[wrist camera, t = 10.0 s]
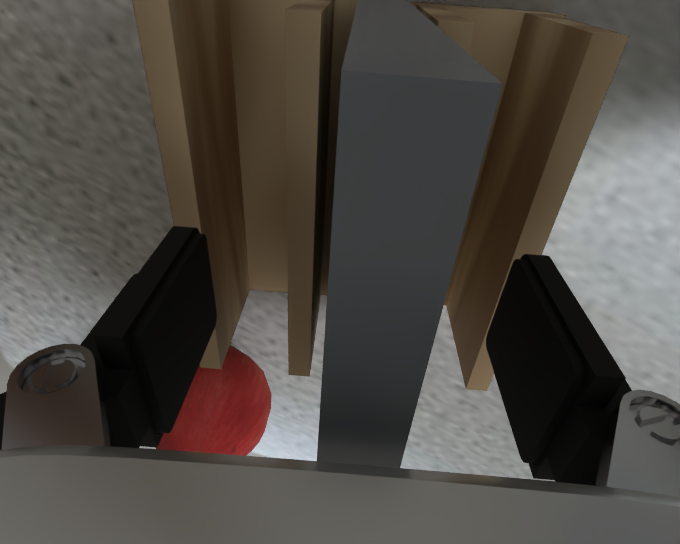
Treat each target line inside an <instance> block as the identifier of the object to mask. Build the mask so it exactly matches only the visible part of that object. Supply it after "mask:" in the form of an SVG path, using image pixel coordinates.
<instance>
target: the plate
mask: <svg viewBox="0 0 680 544" xmlns="http://www.w3.org/2000/svg"><path fill="white" fill-rule="evenodd" d="M502 85H503V83H502V82H500V81H499V80H498V79H497V78H496V77H495V76H494V75H492V74H491V73H490V72H489V71H488V70H487V69H486V68H484V67H483V66H482V65H481V64H480V63H479V62H478V61H476V60H475V59H474V58H473V57H472V56H471V55H470V54H468V53H467V52H466V51H465V50H464V49H463V48H461V47H460V46H459V45H458V44H457V43H456V42H455V41H453V40H452V39H451V38H450V37H449V36H448V35H447V34H445V33H444V32H443V31H442V30H441V29H440V28H439V27H437V26H436V25H435V24H434V23H433V22H432V21H430V20H429V19H428V18H427V17H426V16H425V15H424V14H422V13H421V12H420V11H419V10H418V9H417V8H416V7H414V6H413V5H412V4H411V3H410V2H409V1H408V0H358V2H357V7H356V11H355V15H354V19H353V24H352V28H351V32H350V36H349V40H348V45H347V49H346V53H345V57H344V62H343V66H342V70H341V85H340V101H339V117H338V133H337V149H336V165H335V181H334V197H333V213H332V229H331V245H330V261H329V277H328V293H327V309H326V325H325V341H324V356H323V372H322V388H321V404H320V420H319V436H318V452H317V461H318V462H330V463H342V464H355V465H367V466H379V467H391V468H400V465H401V461H402V458H403V454H404V450H405V447H406V443H407V439H408V435H409V432H410V428H411V424H412V420H413V417H414V413H415V409H416V406H417V402H418V398H419V394H420V391H421V387H422V383H423V379H424V376H425V372H426V368H427V365H428V361H429V357H430V353H431V350H432V346H433V342H434V338H435V335H436V331H437V327H438V324H439V320H440V316H441V312H442V309H443V305H444V301H445V297H446V294H447V290H448V286H449V283H450V279H451V275H452V271H453V268H454V264H455V260H456V256H457V253H458V249H459V245H460V242H461V238H462V234H463V230H464V227H465V223H466V219H467V215H468V212H469V208H470V204H471V201H472V197H473V193H474V189H475V186H476V182H477V178H478V174H479V171H480V167H481V163H482V160H483V156H484V152H485V148H486V145H487V141H488V137H489V133H490V130H491V126H492V122H493V119H494V115H495V111H496V107H497V104H498V100H499V96H500V92H501V89H502Z"/></svg>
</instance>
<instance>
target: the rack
mask: <svg viewBox="0 0 680 544" xmlns="http://www.w3.org/2000/svg"><path fill="white" fill-rule="evenodd" d="M132 1H133V6H134V12H135V17H136V22H137V28H138V33H139V39H140V44H141V49H142V55H143V60H144V66H145V71H146V76H147V82H148V87H149V93H150V98H151V104H152V109H153V114H154V120H155V125H156V131H157V136H158V141H159V147H160V152H161V158H162V163H163V169H164V174H165V179H166V185H167V190H168V196H169V201H170V206H171V212H172V217H173V223H174V226H182V227H194V228H197V229H198V230H199V232H200V234H205V235H206V238H207V244H208V251H209V259H210V266H211V273H212V281H213V288H214V295H215V302H216V310H217V321H216V326H215V328H214V331H213V333H212V336H211V338H210V340H209V343H208V345H207V348H206V350H205V352H204V355H203V357H202V360H201V362H200V368H212V369H221V368H222V365H223V362H224V360H225V357H226V354H227V351H228V349H229V346H230V343H231V340H232V337H233V335H234V332H235V329H236V326H237V323H238V321H239V318H240V315H241V312H242V310H243V307H244V304H245V301H246V298H247V296H248V293H249V290H250V289H252V290H265V291H277V292H288V354H289V375H298V376H310V369H311V362H312V355H313V348H314V341H315V333H316V326H317V319H318V312H319V304H320V297H321V295H327V293H328V277H329V261H330V245H331V229H332V213H333V197H334V181H335V165H336V149H337V133H338V117H339V101H340V85H341V70H342V66H343V62H344V57H345V53H346V49H347V45H348V40H349V36H350V32H351V28H352V24H353V19H354V15H355V11H356V7H357V2H358V0H132ZM410 3H411V4H412V5H413V6H414V7H416V8H417V9H418V10H419V11H420V12H421V13H422V14H424V15H425V16H426V17H427V18H428V19H429V20H430V21H432V22H433V23H434V24H435V25H436V26H437V27H439V28H440V29H441V30H442V31H443V32H444V33H445V34H447V35H448V36H449V37H450V38H451V39H452V40H453V41H455V42H456V43H457V44H458V45H459V46H460V47H461V48H463V49H464V50H465V51H466V52H467V53H468V54H470V55H471V56H472V57H473V58H474V59H475V60H476V61H478V62H479V63H480V64H481V65H482V66H483V67H484V68H486V69H487V70H488V71H489V72H490V73H491V74H492V75H494V76H495V77H496V78H497V79H498V80H499V81H500V82H502V83H503V85H502V89H501V92H500V96H499V100H498V104H497V107H496V111H495V115H494V119H493V122H492V126H491V130H490V133H489V137H488V141H487V145H486V148H485V152H484V156H483V160H482V163H481V167H480V171H479V174H478V178H477V182H476V186H475V189H474V193H473V197H472V201H471V204H470V208H469V212H468V215H467V219H466V223H465V227H464V230H463V234H462V238H461V242H460V245H459V249H458V253H457V256H456V260H455V264H454V268H453V271H452V275H451V279H450V283H449V286H448V290H447V294H446V297H445V301H444V305H446V306H447V310H448V314H449V319H450V323H451V327H452V331H453V336H454V340H455V344H456V348H457V353H458V357H459V361H460V365H461V370H462V374H463V378H464V383H465V387H466V389H471V390H483V391H487V389H488V387H489V384H490V382H491V379H492V377H493V374H494V371H493V368H492V364H491V361H490V358H489V355H488V352H487V348H486V337H487V333H488V330H489V328H490V325H491V322H492V319H493V316H494V314H495V311H496V308H497V305H498V302H499V300H500V297H501V294H502V291H503V289H504V286H505V283H506V280H507V277H508V275H509V272H510V269H511V266H512V264H513V261H514V260H515V259H520V258H521V257H522V256H523V255H524V254H532V255H542V252H543V250H544V247H545V245H546V242H547V240H548V237H549V235H550V232H551V230H552V227H553V225H554V222H555V220H556V217H557V215H558V212H559V210H560V207H561V205H562V202H563V200H564V197H565V195H566V192H567V190H568V187H569V185H570V182H571V180H572V177H573V175H574V172H575V170H576V167H577V165H578V162H579V160H580V157H581V155H582V152H583V150H584V147H585V145H586V142H587V140H588V137H589V135H590V133H591V130H592V128H593V125H594V123H595V120H596V118H597V115H598V113H599V110H600V108H601V105H602V103H603V100H604V98H605V95H606V93H607V90H608V88H609V85H610V83H611V80H612V78H613V75H614V73H615V70H616V68H617V65H618V63H619V60H620V58H621V55H622V53H623V50H624V48H625V45H626V43H627V40H628V38H629V36H627V35H624V34H620V33H616V32H613V31H609V30H605V29H602V28H598V27H594V26H591V25H587V24H583V23H579V22H576V21H572V20H568V19H565V18H566V16H565V15H561V14H557V13H549V12H536V11H524V10H511V9H498V8H485V7H472V6H459V5H446V4H433V3H420V2H410Z"/></svg>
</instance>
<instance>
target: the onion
mask: <svg viewBox="0 0 680 544" xmlns="http://www.w3.org/2000/svg"><path fill="white" fill-rule="evenodd" d="M270 409H271V392H270V389H269V386H268V383H267V380H266V377H265V375H264V372H263V371H262V369H261V368H260V367H259V366H258V365H257V364H256V363H255V362H254V361H253V360H252V359H251V358H250V357H249V356H247V355H245V354H244V353H242V352H241V351H239V350H238V349H236V348H234V347H230V346H229V349H228V351H227V354H226V357H225V360H224V362H223V365H222V368H221V369H212V368H200V364H199V367H198V369H197V372H196V374H195V376H194V379H193V381H192V383H191V386H190V388H189V391H188V393H187V395H186V398H185V400H184V403H183V405H182V407H181V410H180V412H179V415H178V417H177V419H176V422H175V424H174V427H173V429H172V431H171V432H170V433H163V436H162V438H161V440H160V443H159V445H158V447H156V449H160V450H176V451H189V452H202V453H215V454H228V455H241V456H246V455H247V454H248V453H250V452H251V451H252V450H253V449H254V447H255V446H256V445H257V444H258V443H259V441H260V439H261V437H262V435H263V433H264V431H265V428H266V424H267V420H268V417H269V413H270Z"/></svg>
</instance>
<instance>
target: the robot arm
mask: <svg viewBox="0 0 680 544" xmlns="http://www.w3.org/2000/svg"><path fill="white" fill-rule="evenodd" d="M216 321H217V310H216V302H215V295H214V288H213V281H212V273H211V266H210V259H209V251H208V244H207V238H206V235H205V234H200V232H199V230H198V229H197V228H194V227H182V226H173V227H172V228H171V230H170V231H169V232H168V234H167V235H166V236H165V238H164V239H163V241H162V242H161V243H160V245H159V246H158V247H157V249H156V250H155V251H154V253H153V254H152V255H151V257H150V258H149V259H148V261H147V262H146V264H145V265H144V266H143V268H142V269H141V270H140V272H139V273H138V274H134V275H133V276H132V277H131V278H130V280H129V281H128V282H127V284H126V285H125V286H124V288H123V289H122V290H121V292H120V293H119V294H118V296H117V297H116V298H115V300H114V301H113V302H112V304H111V305H110V306H109V308H108V309H107V310H106V312H105V313H104V314H103V316H102V317H101V318H100V320H99V321H98V322H97V324H96V325H95V326H94V328H93V329H92V330H91V332H90V333H89V334H88V336H87V337H86V338H85V340H84V341H83V342H82V343H81V345H77V344H61V345H55V346H51V347H48V348H45V349H42V350H39V351H38V352H36V353H34V354H32V355H30V356H28V357H27V358H26V359H24V360H23V361H22V362H21V363H19V364H18V365H17V366H16V368H15V369H14V370H13V372H12V373H11V374H10V377H9V380H8V383H7V391H6V392H4V393H2V394H0V544H680V404H678V403H677V402H675V401H673V400H671V399H669V398H668V397H666V396H663V395H661V394H658V393H655V392H652V391H645V390H635V391H632V390H631V388H630V387H629V385H628V383H627V382H626V380H625V379H626V378H625V376H624V375H623V373H622V371H621V370H620V368H619V367H618V365H617V363H616V362H615V360H614V359H613V357H612V355H611V354H610V352H609V351H608V349H607V347H606V346H605V344H604V343H603V341H602V340H601V338H600V336H599V335H598V333H597V332H596V330H595V328H594V327H593V325H592V324H591V322H590V320H589V319H588V317H587V316H586V314H585V312H584V311H583V309H582V308H581V306H580V304H579V303H578V301H577V300H576V298H575V296H574V295H573V293H572V292H571V290H570V288H569V287H568V285H567V284H566V282H565V281H564V279H563V277H562V276H561V274H560V273H559V271H558V269H557V268H556V266H555V265H554V263H553V261H552V260H551V258H550V257H549V256H545V255H532V254H524V255H523V256H522V257H521V258H520V259H515V260H514V261H513V264H512V266H511V269H510V272H509V275H508V277H507V280H506V283H505V286H504V289H503V291H502V294H501V297H500V300H499V302H498V305H497V308H496V311H495V314H494V316H493V319H492V322H491V325H490V328H489V330H488V333H487V337H486V348H487V352H488V355H489V358H490V361H491V364H492V368H493V371H494V374H495V377H496V380H497V384H498V387H499V390H500V393H501V396H502V400H503V403H504V406H505V409H506V412H507V416H508V419H509V422H510V425H511V428H512V432H513V435H514V438H515V441H516V444H517V448H518V451H519V454H520V457H521V459H522V461H523V462H525V463H529V466H530V469H531V472H532V475H533V478H537V479H549V480H555V481H556V482H553V481H542V480H531V479H519V478H508V477H496V476H485V475H473V474H462V473H450V472H439V471H427V470H415V469H403V468H391V467H379V466H367V465H355V464H342V463H330V462H318V461H305V460H293V459H280V458H267V457H254V456H241V455H228V454H215V453H202V452H189V451H176V450H160V449H143V448H139V447H140V446H146V447H158V445H159V443H160V440H161V438H162V436H163V433H170V432H171V431H172V429H173V427H174V424H175V422H176V419H177V417H178V415H179V412H180V410H181V407H182V405H183V403H184V400H185V398H186V395H187V393H188V391H189V388H190V386H191V383H192V381H193V379H194V376H195V374H196V372H197V369H198V367H199V364H200V362H201V360H202V357H203V355H204V352H205V350H206V348H207V345H208V343H209V340H210V338H211V336H212V333H213V331H214V328H215V326H216Z"/></svg>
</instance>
